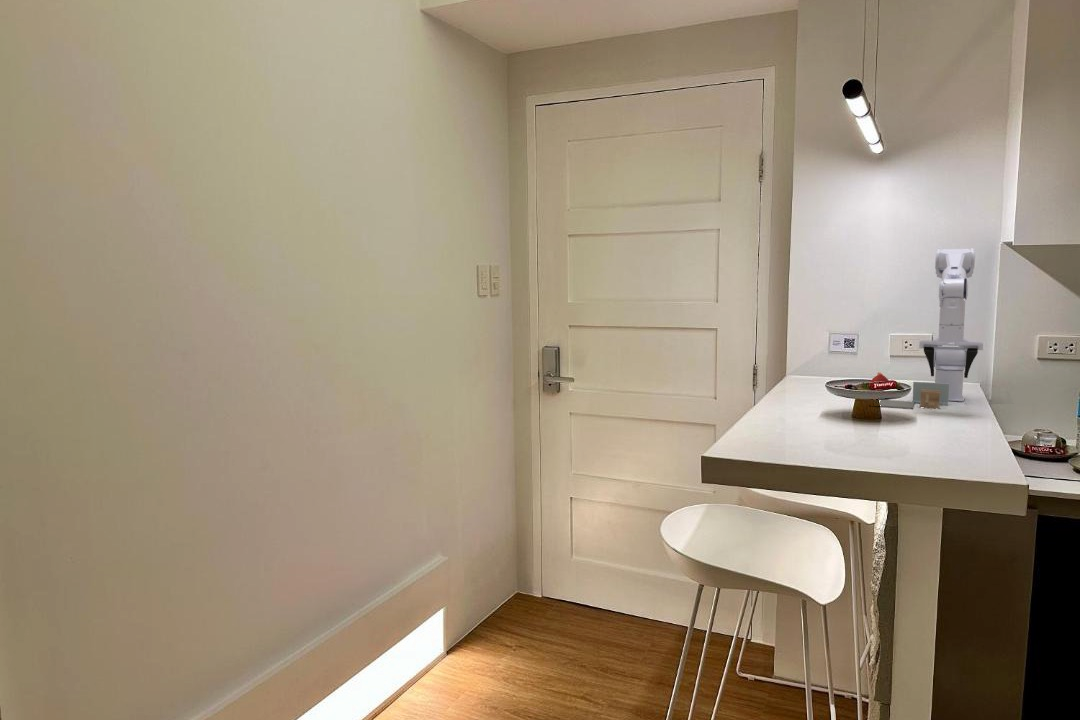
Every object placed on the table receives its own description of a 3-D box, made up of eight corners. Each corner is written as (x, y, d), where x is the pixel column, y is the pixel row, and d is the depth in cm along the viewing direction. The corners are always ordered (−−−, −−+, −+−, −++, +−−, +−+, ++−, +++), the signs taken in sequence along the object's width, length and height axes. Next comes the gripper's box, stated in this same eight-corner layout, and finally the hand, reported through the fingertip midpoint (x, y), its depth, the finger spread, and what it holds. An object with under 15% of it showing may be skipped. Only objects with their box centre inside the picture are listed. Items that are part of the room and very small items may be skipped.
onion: (885, 397, 227) (887, 371, 226) (892, 400, 221) (894, 373, 220) (865, 397, 227) (866, 371, 227) (872, 400, 222) (873, 373, 221)
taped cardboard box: (920, 405, 213) (921, 389, 213) (939, 406, 211) (939, 390, 210) (920, 408, 209) (920, 391, 208) (938, 409, 207) (939, 392, 206)
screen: (912, 401, 219) (913, 381, 218) (948, 403, 215) (949, 382, 214) (912, 403, 216) (913, 382, 215) (948, 405, 212) (949, 384, 211)
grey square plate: (872, 400, 222) (872, 399, 221) (914, 403, 216) (914, 401, 216) (869, 406, 212) (869, 404, 212) (912, 409, 207) (912, 407, 207)
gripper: (919, 325, 196) (917, 377, 197) (984, 326, 189) (981, 380, 191) (920, 323, 202) (918, 373, 204) (983, 324, 195) (980, 376, 197)
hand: (948, 376), depth 197 cm, fingers open, 7 cm apart
